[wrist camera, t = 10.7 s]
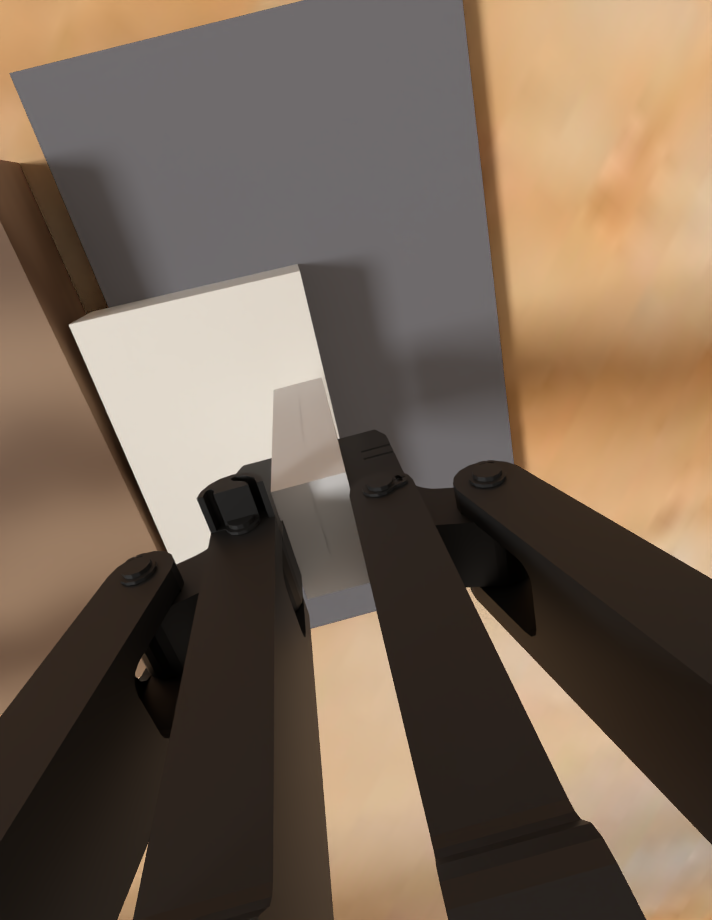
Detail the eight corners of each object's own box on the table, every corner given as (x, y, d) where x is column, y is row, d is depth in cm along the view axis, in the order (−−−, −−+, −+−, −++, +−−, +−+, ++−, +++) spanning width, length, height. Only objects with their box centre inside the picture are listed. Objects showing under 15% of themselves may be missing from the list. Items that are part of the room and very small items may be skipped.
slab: (352, 492, 22) (359, 520, 20) (183, 534, 22) (173, 566, 20) (297, 263, 18) (299, 271, 16) (91, 311, 18) (68, 324, 16)
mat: (520, 562, 26) (525, 570, 25) (251, 635, 25) (250, 644, 25) (452, -30, 16) (458, -38, 16) (19, 78, 16) (9, 73, 15)
